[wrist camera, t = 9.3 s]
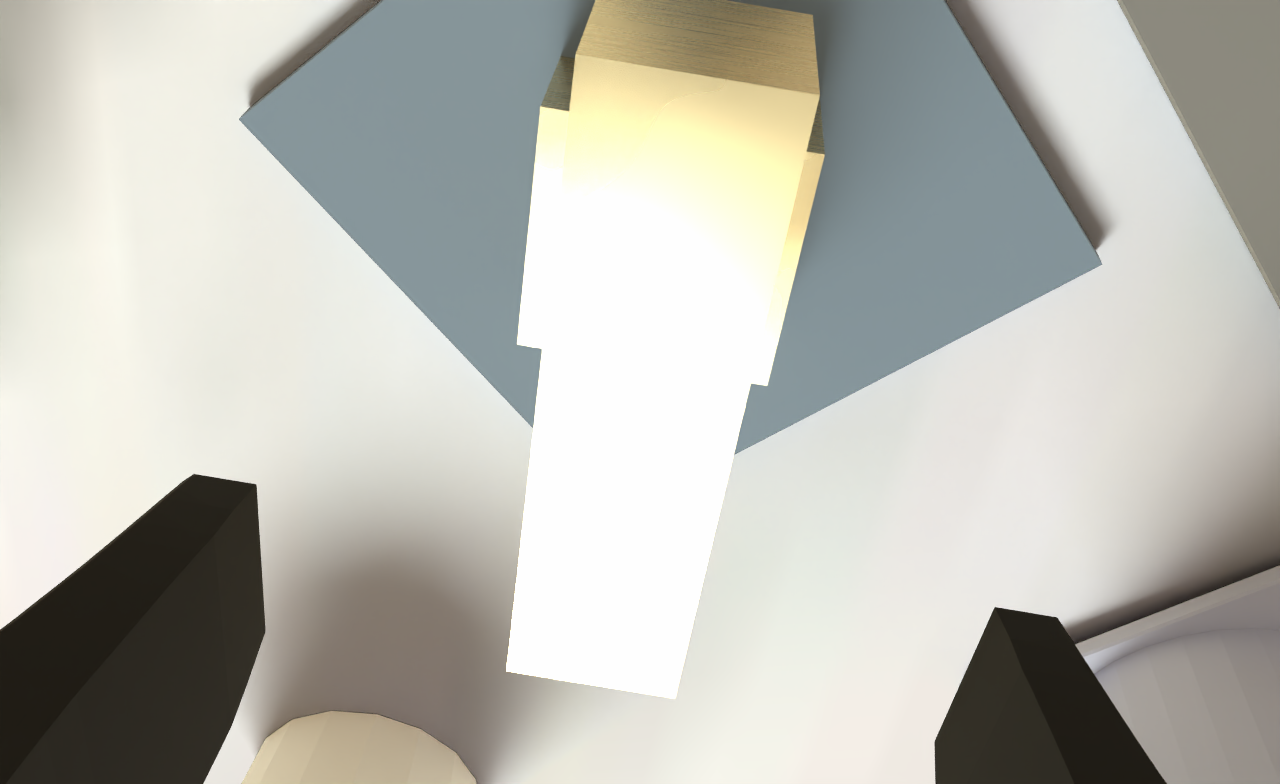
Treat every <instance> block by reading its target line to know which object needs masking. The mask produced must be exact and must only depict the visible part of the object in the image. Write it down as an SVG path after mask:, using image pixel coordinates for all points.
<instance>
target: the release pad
mask: <svg viewBox="0 0 1280 784" xmlns="http://www.w3.org/2000/svg"><path fill="white" fill-rule="evenodd" d="M728 1H734V2H739V3H745V4H751V5H757V6H763V7H769V8H775V9H781V10H787V11H792V12H798V13H804V14H810V15H813V24H814V35H815V46H816V57H817V68H818V79H819V90H820V97H819V100H820V105H821V116H822V128H823V139H824V150H825V156H824V160H823V164H822V168H821V172H820V176H819V180H818V184H817V188H816V192H815V196H814V200H813V204H812V208H811V212H810V216H809V220H808V224H807V228H806V232H805V236H804V240H803V244H802V248H801V252H800V256H799V260H798V264H797V268H796V272H795V276H794V280H793V284H792V288H791V292H790V296H789V300H788V304H787V308H786V312H785V316H784V320H783V324H782V328H781V332H780V336H779V340H778V344H777V348H776V352H775V356H774V360H773V364H772V368H771V372H770V376H769V380H768V384H767V386H766V385H760V384H754V383H751V384H750V388H749V392H748V397H747V401H746V405H745V409H744V413H743V417H742V422H741V426H740V430H739V434H738V438H737V442H736V447H735V451H734V455H735V454H737V453H738V452H740V451H742V450H744V449H746V448H748V447H750V446H752V445H754V444H756V443H758V442H760V441H762V440H764V439H766V438H767V437H769V436H771V435H773V434H775V433H777V432H779V431H781V430H783V429H785V428H787V427H789V426H791V425H793V424H795V423H797V422H798V421H800V420H802V419H804V418H806V417H808V416H810V415H812V414H814V413H816V412H818V411H820V410H822V409H824V408H826V407H827V406H829V405H831V404H833V403H835V402H837V401H839V400H841V399H843V398H845V397H847V396H849V395H851V394H853V393H855V392H856V391H858V390H860V389H862V388H864V387H866V386H868V385H870V384H872V383H874V382H876V381H878V380H880V379H882V378H884V377H885V376H887V375H889V374H891V373H893V372H895V371H897V370H899V369H901V368H903V367H905V366H907V365H909V364H911V363H913V362H914V361H916V360H918V359H920V358H922V357H924V356H926V355H928V354H930V353H932V352H934V351H936V350H938V349H940V348H942V347H944V346H945V345H947V344H949V343H951V342H953V341H955V340H957V339H959V338H961V337H963V336H965V335H967V334H969V333H971V332H973V331H974V330H976V329H978V328H980V327H982V326H984V325H986V324H988V323H990V322H992V321H994V320H996V319H998V318H1000V317H1002V316H1003V315H1005V314H1007V313H1009V312H1011V311H1013V310H1015V309H1017V308H1019V307H1021V306H1023V305H1025V304H1027V303H1029V302H1031V301H1032V300H1034V299H1036V298H1038V297H1040V296H1042V295H1044V294H1046V293H1048V292H1050V291H1052V290H1054V289H1056V288H1058V287H1060V286H1061V285H1063V284H1065V283H1067V282H1069V281H1071V280H1073V279H1075V278H1077V277H1079V276H1081V275H1083V274H1085V273H1087V272H1089V271H1090V270H1092V269H1094V268H1096V267H1098V266H1100V265H1102V263H1101V260H1100V258H1099V256H1098V254H1097V252H1096V250H1095V249H1094V247H1093V245H1092V244H1091V242H1090V240H1089V239H1088V237H1087V235H1086V234H1085V232H1084V230H1083V229H1082V227H1081V225H1080V224H1079V222H1078V220H1077V219H1076V217H1075V215H1074V214H1073V212H1072V210H1071V209H1070V207H1069V205H1068V204H1067V202H1066V200H1065V199H1064V197H1063V195H1062V194H1061V192H1060V190H1059V189H1058V187H1057V185H1056V184H1055V182H1054V180H1053V179H1052V177H1051V175H1050V174H1049V172H1048V170H1047V169H1046V167H1045V165H1044V164H1043V162H1042V160H1041V159H1040V157H1039V155H1038V154H1037V152H1036V150H1035V149H1034V147H1033V145H1032V144H1031V142H1030V140H1029V139H1028V137H1027V136H1026V134H1025V132H1024V131H1023V129H1022V127H1021V126H1020V124H1019V122H1018V121H1017V119H1016V117H1015V116H1014V114H1013V112H1012V111H1011V109H1010V107H1009V106H1008V104H1007V102H1006V101H1005V99H1004V97H1003V96H1002V94H1001V92H1000V91H999V89H998V87H997V86H996V84H995V82H994V81H993V79H992V77H991V76H990V74H989V72H988V71H987V69H986V67H985V66H984V64H983V62H982V61H981V59H980V57H979V56H978V54H977V52H976V51H975V49H974V47H973V46H972V44H971V42H970V41H969V39H968V37H967V36H966V34H965V32H964V31H963V29H962V27H961V26H960V24H959V22H958V21H957V19H956V18H955V16H954V14H953V13H952V11H951V9H950V8H949V6H948V4H947V3H946V1H945V0H728ZM594 3H595V0H381V1H380V2H378V3H377V4H376V5H375V6H373V7H372V8H371V9H370V10H369V11H367V12H366V13H365V14H364V15H362V16H361V17H360V18H359V19H358V20H356V21H355V22H354V23H353V24H351V25H350V26H349V27H348V28H347V29H345V30H344V31H343V32H342V33H341V34H339V35H338V36H337V37H336V38H334V39H333V40H332V41H331V42H330V43H328V44H327V45H326V46H325V47H323V48H322V49H321V50H320V51H319V52H317V53H316V54H315V55H314V56H312V57H311V58H310V59H309V60H308V61H306V62H305V63H304V64H303V65H301V66H300V67H299V68H298V69H297V70H295V71H294V72H293V73H292V74H290V75H289V76H288V77H287V78H286V79H284V80H283V81H282V82H281V83H280V84H278V85H277V86H276V87H275V88H273V89H272V90H271V91H270V92H269V93H267V94H266V95H265V96H264V97H262V98H261V99H260V100H259V101H258V102H256V103H255V104H254V105H253V106H251V107H250V108H249V109H248V110H247V111H246V112H245V113H244V114H243V115H242V116H241V118H240V119H239V120H240V121H241V122H242V123H243V124H244V125H245V126H246V127H247V129H248V130H249V131H250V132H251V133H252V134H253V135H254V136H255V137H256V138H257V139H258V140H259V141H260V142H261V143H262V144H263V145H264V146H265V147H266V148H267V150H268V151H269V152H270V153H271V154H272V155H273V156H274V157H275V158H276V159H277V160H278V161H279V162H280V163H281V164H282V165H283V166H284V167H285V168H286V169H287V170H288V172H289V173H290V174H291V175H292V176H293V177H294V178H295V179H296V180H297V181H298V182H299V183H300V184H301V185H302V186H303V187H304V188H305V189H306V190H307V191H308V193H309V194H310V195H311V196H312V197H313V198H314V199H315V200H316V201H317V202H318V203H319V204H320V205H321V206H322V207H323V208H324V209H325V210H326V211H327V212H328V214H329V215H330V216H331V217H332V218H333V219H334V220H335V221H336V222H337V223H338V224H339V225H340V226H341V227H342V228H343V229H344V230H345V231H346V232H347V233H348V235H349V236H350V237H351V238H352V239H353V240H354V241H355V242H356V243H357V244H358V245H359V246H360V247H361V248H362V249H363V250H364V251H365V252H366V253H367V254H368V256H369V257H370V258H371V259H372V260H373V261H374V262H375V263H376V264H377V265H378V266H379V267H380V268H381V269H382V270H383V271H384V272H385V273H386V274H387V275H388V276H389V278H390V279H391V280H392V281H393V282H394V283H395V284H396V285H397V286H398V287H399V288H400V289H401V290H402V291H403V292H404V293H405V294H406V295H407V296H408V297H409V299H410V300H411V301H412V302H413V303H414V304H415V305H416V306H417V307H418V308H419V309H420V310H421V311H422V312H423V313H424V314H425V315H426V316H427V317H428V318H429V320H430V321H431V322H432V323H433V324H434V325H435V326H436V327H437V328H438V329H439V330H440V331H441V332H442V333H443V334H444V335H445V336H446V337H447V338H448V339H449V341H450V342H451V343H452V344H453V345H454V346H455V347H456V348H457V349H458V350H459V351H460V352H461V353H462V354H463V355H464V356H465V357H466V358H467V359H468V360H469V361H470V363H471V364H472V365H473V366H474V367H475V368H476V369H477V370H478V371H479V372H480V373H481V374H482V375H483V376H484V377H485V378H486V379H487V380H488V381H489V382H490V384H491V385H492V386H493V387H494V388H495V389H496V390H497V391H498V392H499V393H500V394H501V395H502V396H503V397H504V398H505V399H506V400H507V401H508V402H509V403H510V405H511V406H512V407H513V408H514V409H515V410H516V411H517V412H518V413H519V414H520V415H521V416H522V417H523V418H524V419H525V420H526V421H527V422H528V423H529V424H530V426H531V427H532V428H533V429H534V421H535V412H536V403H537V394H538V385H539V376H540V367H541V358H542V349H543V348H537V347H531V346H525V345H519V344H517V343H518V333H519V322H520V312H521V302H522V291H523V281H524V271H525V260H526V250H527V240H528V230H529V219H530V209H531V199H532V188H533V178H534V168H535V157H536V147H537V137H538V126H539V116H540V106H541V104H542V101H543V99H544V96H545V94H546V91H547V89H548V86H549V84H550V81H551V79H552V76H553V74H554V71H555V69H556V66H557V64H558V61H559V59H560V56H565V57H571V58H575V55H576V52H577V49H578V46H579V44H580V41H581V38H582V35H583V33H584V30H585V27H586V25H587V22H588V19H589V17H590V14H591V11H592V8H593V6H594Z"/></svg>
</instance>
